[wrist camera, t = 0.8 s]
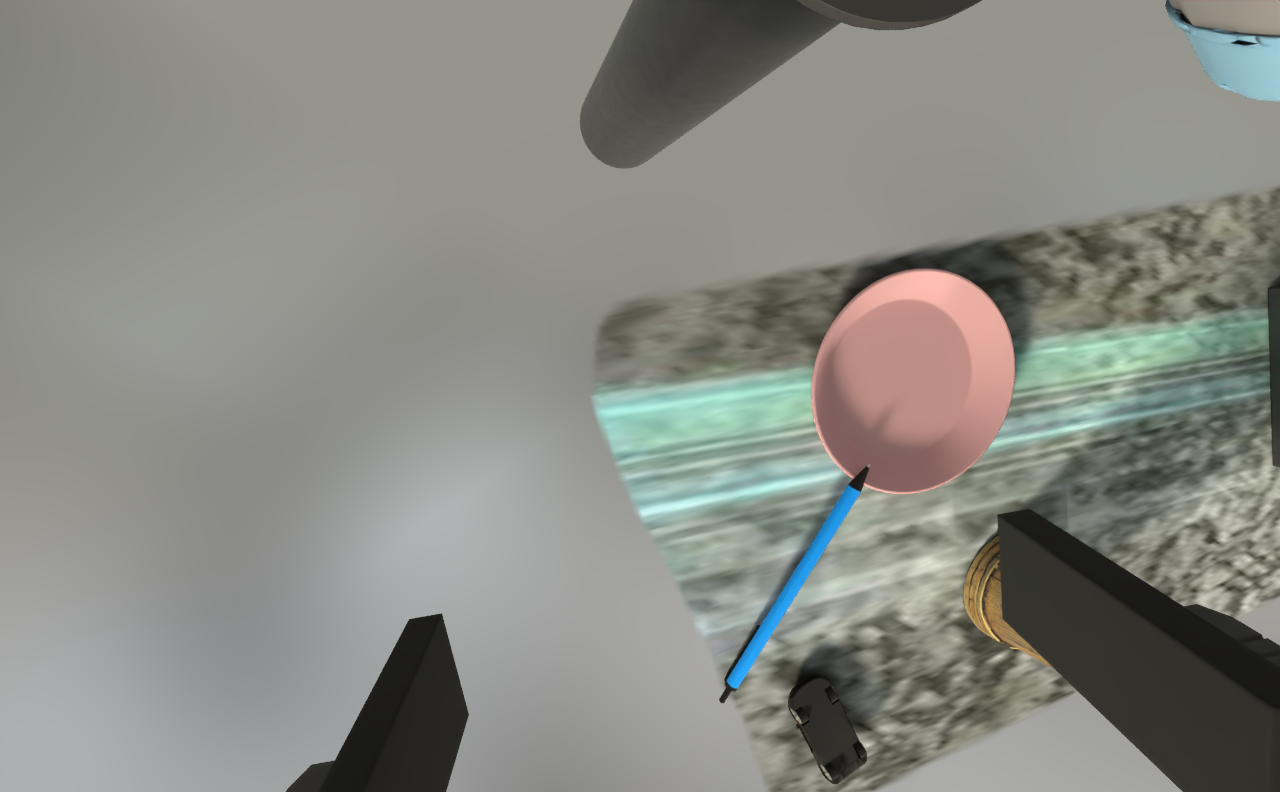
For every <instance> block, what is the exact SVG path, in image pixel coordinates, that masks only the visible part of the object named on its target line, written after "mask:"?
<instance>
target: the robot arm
mask: <svg viewBox="0 0 1280 792" xmlns="http://www.w3.org/2000/svg"><path fill="white" fill-rule="evenodd" d="M1166 9H1167V12H1168V14H1169V17H1170V18H1171V20H1172V21H1173V22H1174V24H1175V25H1176V26H1177V27H1179V28H1180V29H1182V30H1184V32H1185V34H1186V36H1187V37H1188V40H1189V41H1190V43H1191V45H1192V47H1193V49H1194V51H1195V53H1196V55H1197V57H1198V59H1199V61H1200V63H1201V65H1202V67H1203V69H1204V71H1205V73H1206V74H1207V75H1208V77H1209V78H1210V79H1211V80H1212V81H1213V82H1214V83H1216V84H1217V85H1218V86H1220V87H1221V88H1223V89H1226V90H1230V91H1233V92H1237V93H1240V94H1242V95H1243V96H1245V97H1248V98H1252V99H1258V100H1267V101H1280V0H1167V1H1166ZM998 534H999V555H1000V576H1001V597H1002V618H1003V620H1004V621H1005V622H1006V623H1007V624H1008V625H1009V626H1010V627H1011V628H1012V629H1014V630H1015V631H1016V632H1017V633H1018V634H1019V635H1020V636H1021V637H1022V638H1023V639H1024V640H1025V641H1026V642H1027V643H1028V644H1029V645H1030V646H1031V647H1032V648H1033V649H1034V650H1035V651H1036V652H1038V653H1039V654H1040V655H1041V656H1042V657H1043V658H1044V659H1045V660H1046V661H1047V662H1048V663H1049V664H1050V665H1051V666H1052V667H1053V668H1054V669H1055V670H1056V671H1057V672H1058V673H1059V674H1061V675H1062V676H1063V677H1064V678H1065V679H1066V680H1067V681H1068V682H1069V683H1070V684H1071V685H1072V686H1073V687H1074V688H1075V689H1076V690H1077V691H1078V692H1079V693H1080V694H1081V695H1082V696H1083V697H1085V698H1086V699H1087V700H1088V701H1089V702H1090V703H1091V704H1092V705H1093V706H1094V707H1095V708H1096V709H1097V710H1098V711H1099V712H1100V713H1101V714H1102V715H1103V716H1105V718H1106V719H1108V720H1109V721H1110V722H1111V723H1112V724H1113V725H1114V726H1115V727H1116V728H1117V729H1118V730H1119V731H1120V732H1121V733H1122V734H1123V735H1124V736H1125V737H1126V738H1127V739H1128V740H1130V742H1132V743H1133V744H1134V745H1135V746H1136V747H1137V748H1138V749H1139V750H1140V751H1141V752H1142V753H1143V754H1144V755H1145V756H1146V757H1147V758H1148V759H1149V760H1150V761H1151V762H1153V763H1154V764H1155V765H1156V766H1157V767H1158V768H1159V769H1160V770H1161V771H1162V772H1163V773H1164V774H1165V775H1166V776H1167V777H1168V778H1169V779H1170V780H1171V781H1172V782H1173V783H1174V784H1175V785H1176V786H1177V787H1179V788H1180V789H1181V790H1182V791H1183V792H1280V646H1279V645H1278V644H1276V643H1274V642H1273V641H1271V640H1269V639H1268V638H1267V639H1264V638H1263V637H1262V635H1261V634H1260V633H1258V632H1256V631H1255V630H1253V629H1251V628H1249V627H1248V626H1246V625H1245V624H1243V623H1241V622H1240V621H1238V620H1236V619H1235V618H1233V617H1230V616H1228V615H1225V614H1222V613H1219V612H1217V611H1214V610H1211V609H1209V608H1206V607H1203V606H1200V605H1198V604H1195V605H1190V606H1184V607H1183V606H1182V605H1180V604H1179V603H1177V602H1176V601H1174V600H1172V599H1171V598H1169V597H1168V596H1166V595H1165V594H1163V593H1161V592H1160V591H1158V590H1157V589H1155V588H1154V587H1152V586H1150V585H1149V584H1147V583H1146V582H1144V581H1142V580H1141V579H1139V578H1138V577H1136V576H1135V575H1133V574H1131V573H1130V572H1128V571H1127V570H1125V569H1124V568H1122V567H1120V566H1119V565H1117V564H1116V563H1114V562H1113V561H1111V560H1109V559H1108V558H1106V557H1105V556H1103V555H1102V554H1100V553H1098V552H1097V551H1095V550H1094V549H1092V548H1091V547H1089V546H1087V545H1086V544H1084V543H1083V542H1081V541H1079V540H1078V539H1076V538H1075V537H1073V536H1072V535H1070V534H1068V533H1067V532H1065V531H1064V530H1062V529H1061V528H1059V527H1057V526H1056V525H1054V524H1053V523H1051V522H1050V521H1048V520H1046V519H1045V518H1043V517H1042V516H1040V515H1039V514H1037V513H1035V512H1034V511H1032V510H1031V509H1027V510H1021V511H1016V512H1010V513H1004V514H999V515H998ZM468 715H469V714H468V710H467V706H466V702H465V699H464V695H463V691H462V688H461V684H460V680H459V676H458V672H457V669H456V665H455V661H454V658H453V654H452V650H451V646H450V642H449V639H448V635H447V632H446V628H445V624H444V620H443V616H442V614H436V615H431V616H425V617H420V618H414V619H409V621H408V623H407V624H406V626H405V628H404V630H403V632H402V634H401V636H400V638H399V640H398V642H397V643H396V646H395V647H394V649H393V651H392V653H391V655H390V657H389V659H388V661H387V663H386V664H385V666H384V668H383V670H382V672H381V674H380V676H379V678H378V680H377V682H376V684H375V685H374V687H373V689H372V691H371V693H370V695H369V697H368V699H367V701H366V702H365V704H364V706H363V708H362V710H361V712H360V714H359V716H358V718H357V720H356V721H355V724H354V725H353V727H352V729H351V731H350V733H349V735H348V737H347V739H346V740H345V743H344V745H343V746H342V748H341V750H340V752H339V754H338V756H337V758H336V760H335V761H330V762H325V763H319V764H313V765H311V766H310V767H309V768H308V769H307V770H306V771H305V772H304V773H303V774H302V775H301V776H300V777H299V778H298V779H297V780H296V781H295V782H294V783H293V784H292V785H291V786H290V787H289V788H288V789H287V791H286V792H446V790H447V787H448V783H449V780H450V776H451V773H452V770H453V766H454V763H455V759H456V756H457V753H458V749H459V746H460V742H461V739H462V736H463V732H464V729H465V725H466V722H467V719H468Z"/></svg>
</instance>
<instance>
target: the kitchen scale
mask: <svg viewBox="0 0 1280 792" xmlns="http://www.w3.org/2000/svg"><path fill="white" fill-rule="evenodd" d="M1268 302H1269V338H1270V375H1271V411H1272V447H1273V465H1274V466H1277V467H1280V285H1278V286H1274V287H1271V288H1268Z"/></svg>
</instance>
